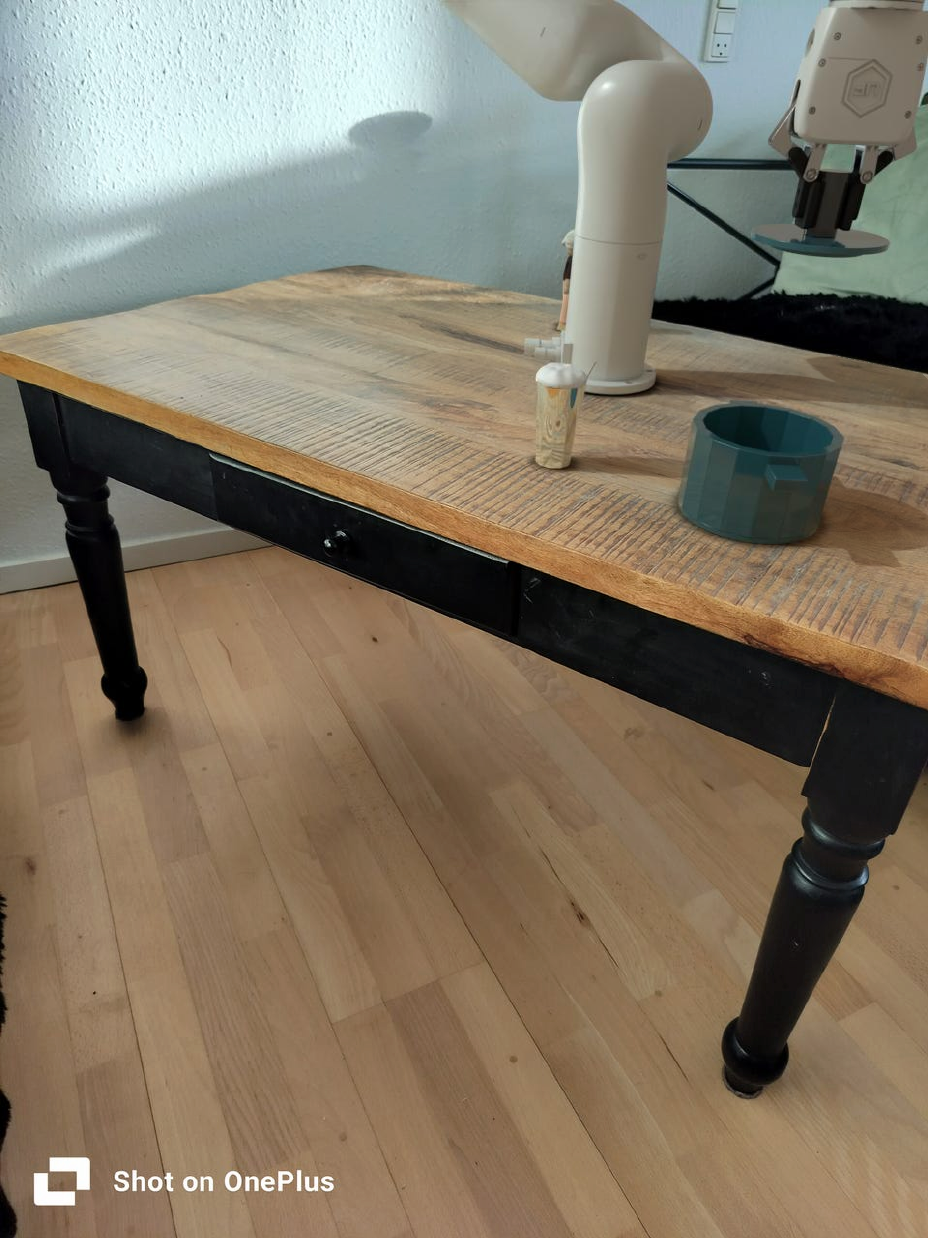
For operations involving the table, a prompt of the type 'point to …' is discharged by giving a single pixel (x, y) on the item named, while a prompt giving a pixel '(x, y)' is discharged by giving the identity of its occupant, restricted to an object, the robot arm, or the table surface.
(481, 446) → the table surface
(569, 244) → the grandmother figurine
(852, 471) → the table surface
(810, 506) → the pot
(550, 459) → the milkshake
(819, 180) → the lid
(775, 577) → the table surface
